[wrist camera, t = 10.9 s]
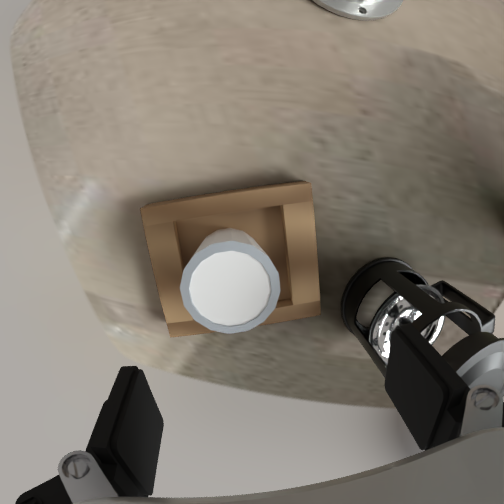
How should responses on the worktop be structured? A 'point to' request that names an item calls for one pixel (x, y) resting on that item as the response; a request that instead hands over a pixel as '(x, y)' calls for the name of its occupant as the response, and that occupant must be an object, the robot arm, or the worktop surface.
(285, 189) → the tray
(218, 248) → the white tapered cylinder
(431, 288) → the french press
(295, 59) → the worktop surface
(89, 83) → the worktop surface
